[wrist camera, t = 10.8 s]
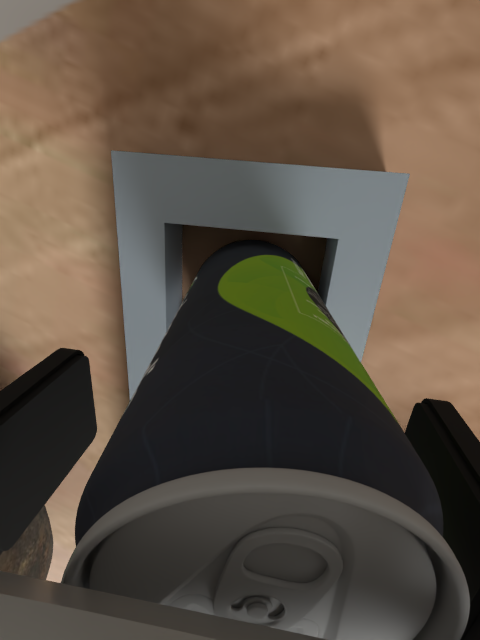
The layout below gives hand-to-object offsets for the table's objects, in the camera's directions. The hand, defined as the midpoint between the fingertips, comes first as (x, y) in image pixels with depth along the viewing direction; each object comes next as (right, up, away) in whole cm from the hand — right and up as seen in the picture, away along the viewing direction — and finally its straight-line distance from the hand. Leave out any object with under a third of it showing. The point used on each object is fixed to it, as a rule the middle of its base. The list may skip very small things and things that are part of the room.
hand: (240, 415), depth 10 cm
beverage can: (+1, +4, +9) cm, 10 cm away
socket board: (0, -2, +12) cm, 12 cm away
